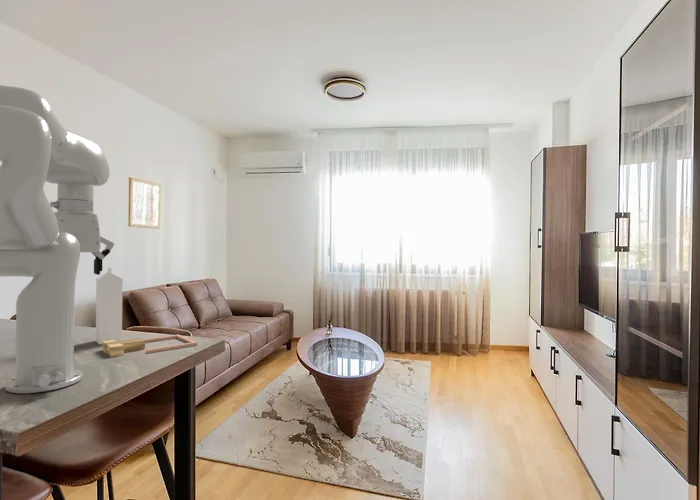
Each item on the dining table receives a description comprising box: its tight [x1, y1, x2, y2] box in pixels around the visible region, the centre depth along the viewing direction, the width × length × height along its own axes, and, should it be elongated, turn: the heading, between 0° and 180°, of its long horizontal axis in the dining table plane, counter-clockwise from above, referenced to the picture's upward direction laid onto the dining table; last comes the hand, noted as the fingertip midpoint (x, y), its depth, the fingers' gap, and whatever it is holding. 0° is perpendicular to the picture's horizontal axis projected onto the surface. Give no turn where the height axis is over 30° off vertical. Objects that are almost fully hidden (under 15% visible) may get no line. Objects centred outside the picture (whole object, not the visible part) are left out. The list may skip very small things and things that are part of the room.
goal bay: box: [143, 334, 198, 354], centre depth 115 cm, size 14×14×1 cm
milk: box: [95, 267, 124, 345], centre depth 118 cm, size 6×6×22 cm
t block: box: [101, 338, 146, 358], centre depth 108 cm, size 9×9×2 cm
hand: (75, 275), depth 101 cm, fingers open, 9 cm apart
